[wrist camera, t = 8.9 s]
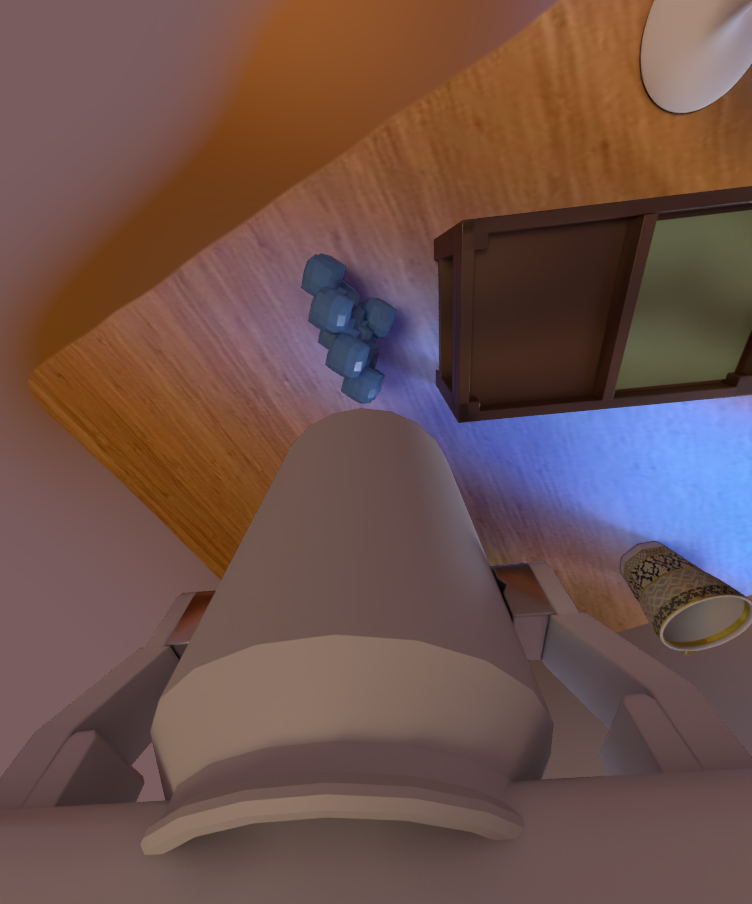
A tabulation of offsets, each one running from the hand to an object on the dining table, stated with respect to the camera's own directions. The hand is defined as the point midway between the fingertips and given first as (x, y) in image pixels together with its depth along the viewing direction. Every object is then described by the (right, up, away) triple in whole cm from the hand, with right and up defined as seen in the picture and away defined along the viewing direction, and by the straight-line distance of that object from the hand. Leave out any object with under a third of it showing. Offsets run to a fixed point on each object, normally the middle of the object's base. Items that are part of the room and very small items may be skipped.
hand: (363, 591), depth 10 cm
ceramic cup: (+39, -12, +37) cm, 55 cm away
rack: (+17, +18, +21) cm, 33 cm away
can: (0, +3, +6) cm, 7 cm away
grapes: (-1, +17, +22) cm, 28 cm away
